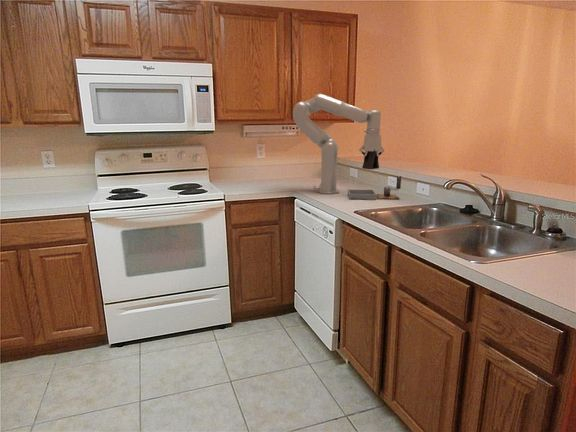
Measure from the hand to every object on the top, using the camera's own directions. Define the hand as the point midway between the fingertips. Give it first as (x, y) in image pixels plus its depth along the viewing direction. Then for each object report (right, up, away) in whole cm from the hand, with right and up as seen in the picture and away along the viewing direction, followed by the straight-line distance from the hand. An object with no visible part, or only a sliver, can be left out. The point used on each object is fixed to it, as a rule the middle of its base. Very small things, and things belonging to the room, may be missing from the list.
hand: (370, 162), depth 234 cm
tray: (-7, -21, -6) cm, 23 cm away
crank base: (+8, -21, -7) cm, 24 cm away
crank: (+10, -20, -9) cm, 25 cm away
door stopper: (0, -4, +1) cm, 4 cm away
